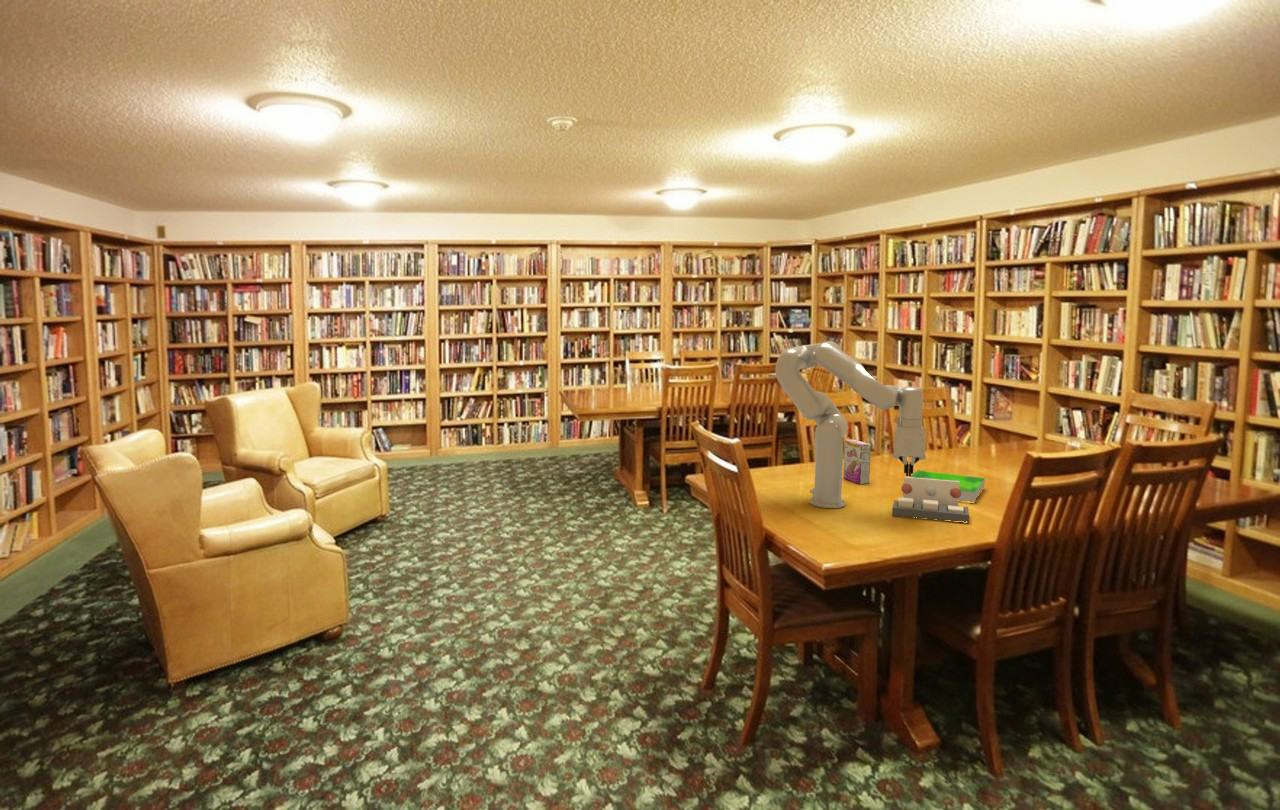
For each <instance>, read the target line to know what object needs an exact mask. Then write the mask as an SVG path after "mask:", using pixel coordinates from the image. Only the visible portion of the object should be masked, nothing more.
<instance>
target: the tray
mask: <svg viewBox="0 0 1280 810" xmlns="http://www.w3.org/2000/svg"><path fill="white" fill-rule="evenodd" d="M911 477H913V478H925V479H937V480H949V481H959V482H960V483H959V489H960V490H961V496H960V497H959V499H958V500H960V501H970V502H974V501H975V500H976V498H977V497H978V495H979V494H980V493H981V491H982V490H983V488H984V489H985V479H986V478H985V477H979V476H969V475H962V474H961V475H960V474H951V473H943V472H937V471H930V470H929V471H927V470H920V469H918V470H916V471H915V472H913V474H911ZM902 485H904V482H903V483H902ZM983 491H984V490H983ZM903 494H904V493H903V492H902V495H903ZM981 494H982V493H981ZM978 498H979V497H978ZM976 501H977V500H976Z"/></svg>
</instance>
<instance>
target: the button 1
mask: <svg viewBox="0 0 1280 810" xmlns="http://www.w3.org/2000/svg"><path fill="white" fill-rule="evenodd" d="M897 501H898V506H899V507H909V508H913V499H912V498H903V497H899V496H898V499H897Z"/></svg>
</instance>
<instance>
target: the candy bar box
mask: <svg viewBox="0 0 1280 810" xmlns="http://www.w3.org/2000/svg"><path fill="white" fill-rule="evenodd" d="M843 448H844V449H843V473H842V479H845V480H847V481H848V482H849V481H850V482H853V483H854V484H855V483H856V484H858V485H867V484H870V475H871V473H870V472H871V451H872V450H871V449H872V444H870V443H868V442H864V441H860V440H857V439H855V438H854V439H845V440H844V447H843Z"/></svg>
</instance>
